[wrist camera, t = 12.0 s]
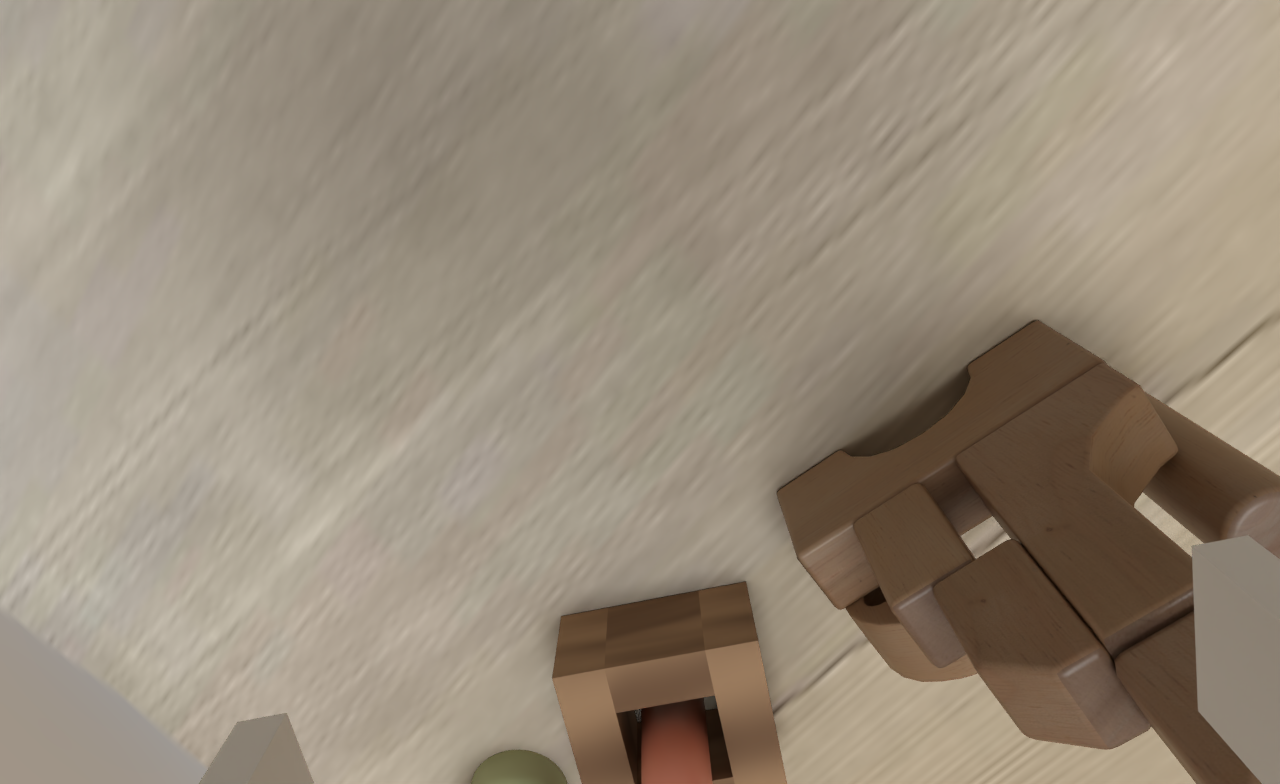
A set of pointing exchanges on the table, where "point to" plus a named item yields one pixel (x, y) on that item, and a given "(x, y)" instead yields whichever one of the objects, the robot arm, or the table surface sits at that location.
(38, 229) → the table surface
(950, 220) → the table surface
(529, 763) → the olive green rounded piece
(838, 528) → the wooden toy
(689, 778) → the pink capsule rod
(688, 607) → the square wooden frame
